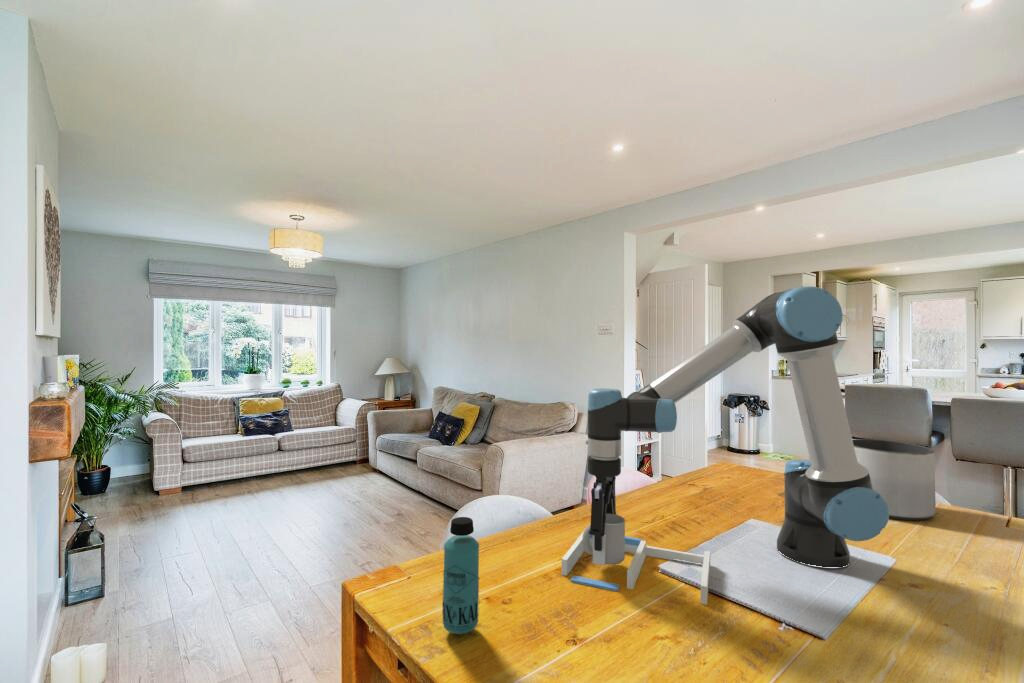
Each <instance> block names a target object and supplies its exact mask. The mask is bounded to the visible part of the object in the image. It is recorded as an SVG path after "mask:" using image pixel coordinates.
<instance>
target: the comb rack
mask: <svg viewBox="0 0 1024 683" xmlns="http://www.w3.org/2000/svg"><path fill="white" fill-rule="evenodd" d="M583 533H584V530H583V531H582V532H581V533H580V535H579V536H578V537H577V539H576V540H575V541H574V542H573V544H572V545H571V546H570V547H569V549H568V550H567V552H566V553H565V554H564V555H563V557H562V558H561V575H562V576H566V577H567V576H568V575H569V574H570V572H571V570H573V568H574V566H575V565H576V563H577V562H578V561H579V559H580V557H581V556H582V555H583V554H584V553H585V552H586V551H585V550H584V547H583ZM589 543H590V546H591V547H593V535H590V538H589ZM703 552H704V553H703V554H698V553H694V552H692V553H691V552H686V551H680V550H674V549H668V548H663V547H662V548H661V547H657V546H651V545H647V541H646V540H643V539H642V538H638V537H632V536H626V535H625V553H629V554H634V555H633V558H632V560H631V561H630V564H629V566H628V569H627V570H626V589H628V590H634V588H635V585H636V582H637V581H638V578H639V575H640V572H641V570H642V568H643V565H644V562H645V559H646V557H647V556H648V557H651V558H658V559H665V560H669V561H674V559H679V560H685V561H690V562H695V563H701V564H703V565H702V570H701V579H700V604H702V605H706V606H707V605H708V597H709V587H708V585H709V584H710V575H709V573H710V572H711V551H710V550H704V551H703ZM570 582H571V583H575V584H580V585H584V586H590V587H594V588H598V589H602V590H603V589H604V590H608V591H611V592H612V591H613V592H618V590H619V588H620V584H616V583H614V582H607V581H603V580H597V579H593V578H589V577H588V578H587V577H583V576H577V575H575V574H574V575H572V576H571V579H570Z"/></svg>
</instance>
